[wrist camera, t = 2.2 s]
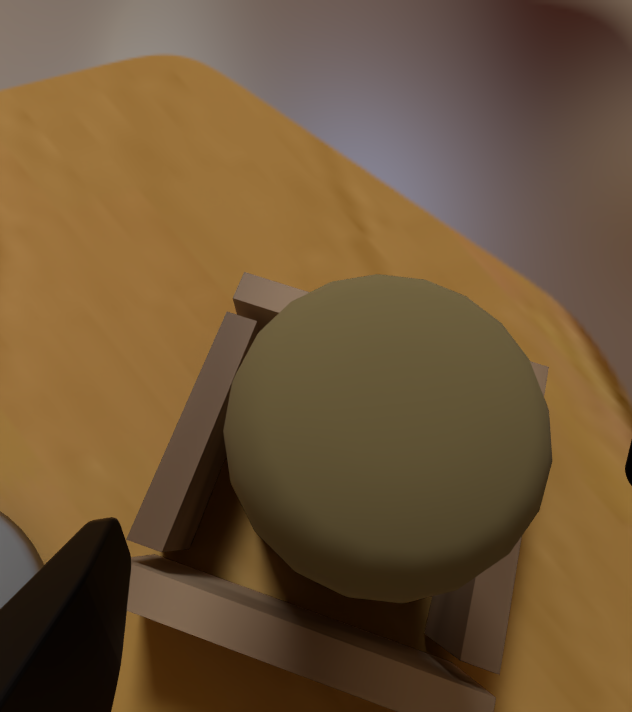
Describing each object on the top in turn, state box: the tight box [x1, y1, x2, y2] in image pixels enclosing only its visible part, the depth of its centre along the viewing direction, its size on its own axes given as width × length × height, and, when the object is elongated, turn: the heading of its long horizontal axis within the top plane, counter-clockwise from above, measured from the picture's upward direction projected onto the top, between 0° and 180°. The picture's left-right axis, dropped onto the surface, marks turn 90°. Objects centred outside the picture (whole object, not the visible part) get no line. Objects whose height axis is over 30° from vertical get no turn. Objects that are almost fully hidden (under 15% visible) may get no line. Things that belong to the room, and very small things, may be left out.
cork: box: [223, 275, 552, 603], centre depth 12 cm, size 6×6×11 cm
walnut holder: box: [127, 272, 549, 712], centre depth 15 cm, size 10×10×4 cm
